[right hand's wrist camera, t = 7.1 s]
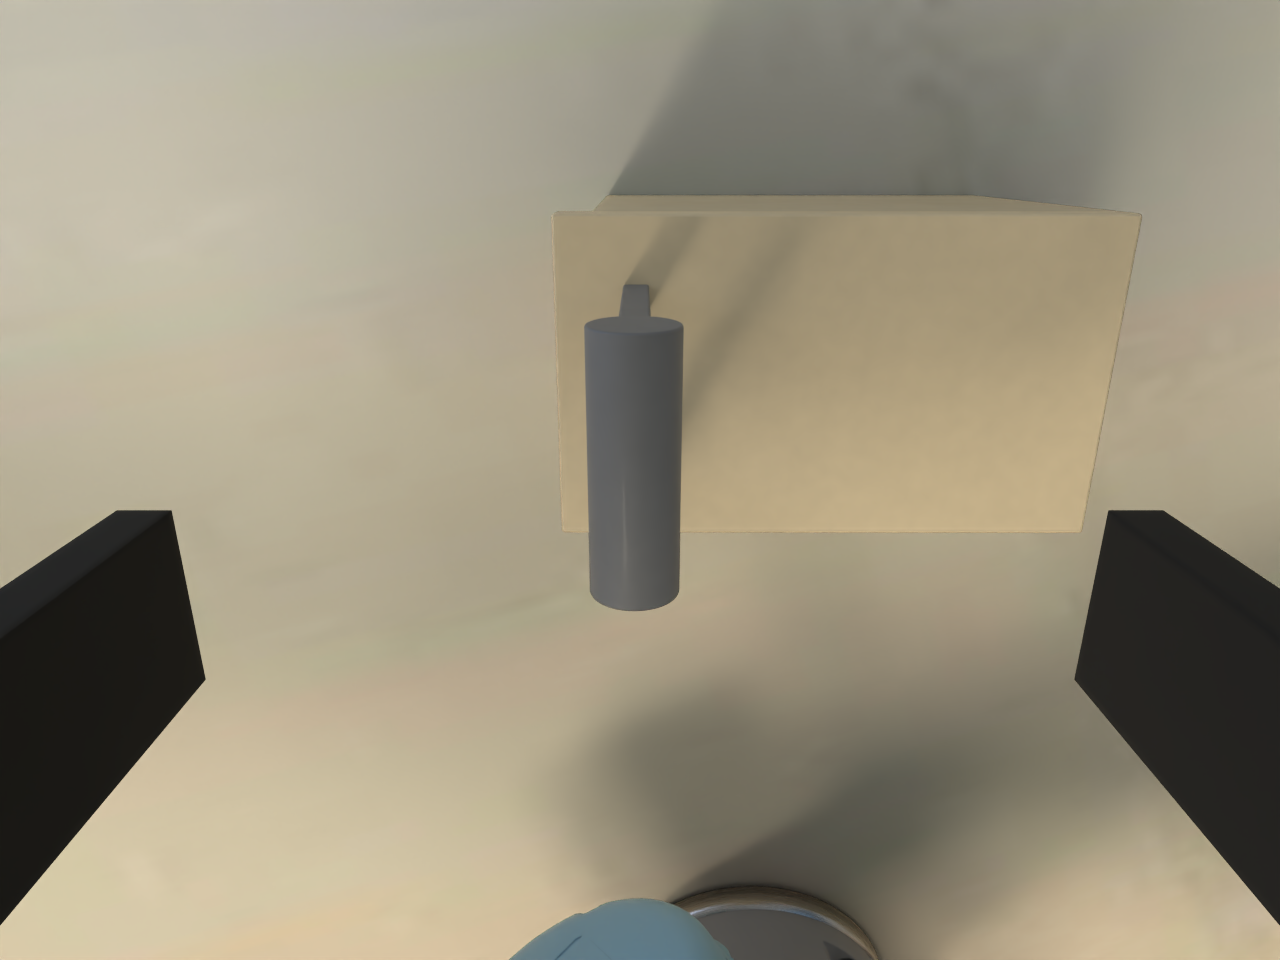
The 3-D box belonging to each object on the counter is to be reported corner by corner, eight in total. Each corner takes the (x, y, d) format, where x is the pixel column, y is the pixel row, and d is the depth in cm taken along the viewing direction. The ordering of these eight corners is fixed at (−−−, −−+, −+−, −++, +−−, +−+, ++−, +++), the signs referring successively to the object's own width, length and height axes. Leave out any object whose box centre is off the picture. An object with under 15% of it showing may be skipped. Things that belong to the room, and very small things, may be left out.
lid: (564, 518, 27) (530, 681, 19) (554, 211, 24) (507, 239, 15) (1064, 518, 27) (1257, 681, 19) (1120, 210, 24) (1384, 239, 15)
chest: (609, 417, 38) (597, 517, 27) (606, 195, 34) (591, 210, 24) (945, 417, 38) (1063, 517, 27) (973, 195, 34) (1119, 211, 24)
